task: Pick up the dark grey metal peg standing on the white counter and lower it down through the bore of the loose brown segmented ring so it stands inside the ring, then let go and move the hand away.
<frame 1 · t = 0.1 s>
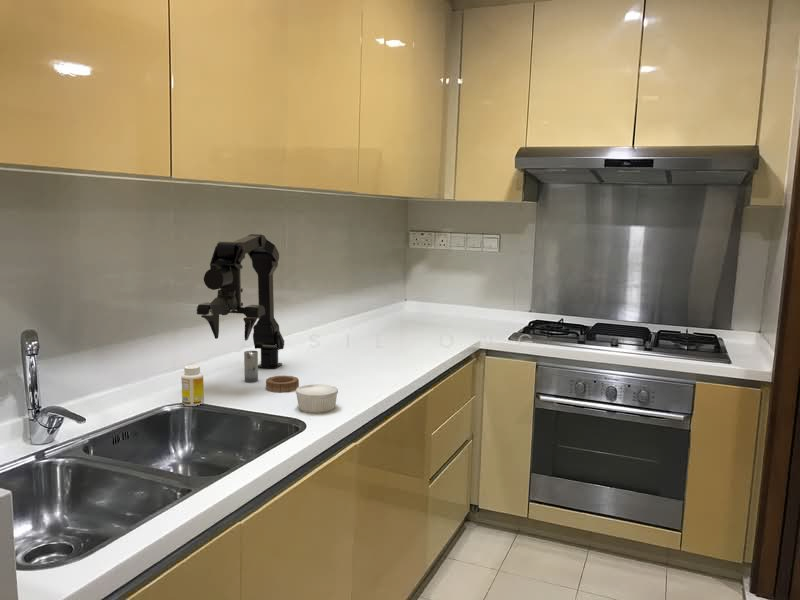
hand: (231, 339, 191), 14 cm above the worktop, fingers open, 9 cm apart
brown segmented ring: (282, 387, 194), on the worktop
ramekin: (316, 409, 175), on the worktop
supplement bottle: (193, 404, 177), on the worktop
grey metal peg: (251, 381, 201), on the worktop
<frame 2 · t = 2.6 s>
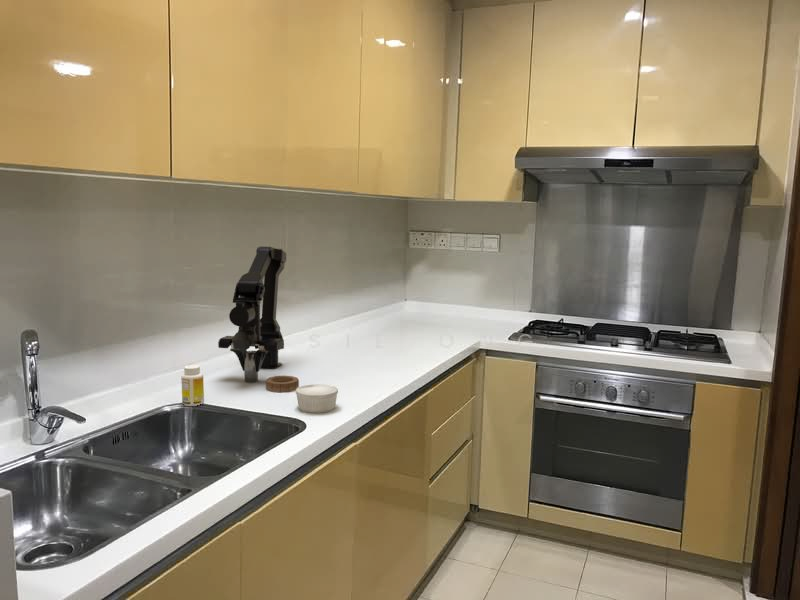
hand: (251, 371, 200), 3 cm above the worktop, fingers closed on grey metal peg, 4 cm apart
grey metal peg: (251, 381, 201), on the worktop, touching gripper
everything else where it was.
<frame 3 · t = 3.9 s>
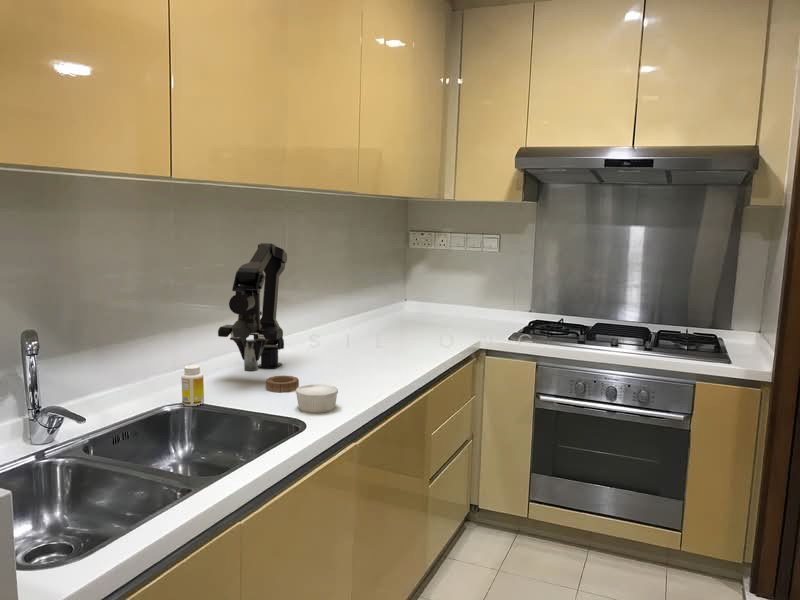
hand: (250, 360, 200), 6 cm above the worktop, fingers closed on grey metal peg, 4 cm apart
grey metal peg: (251, 369, 200), point 3 cm above the worktop, touching gripper
everything else where it was.
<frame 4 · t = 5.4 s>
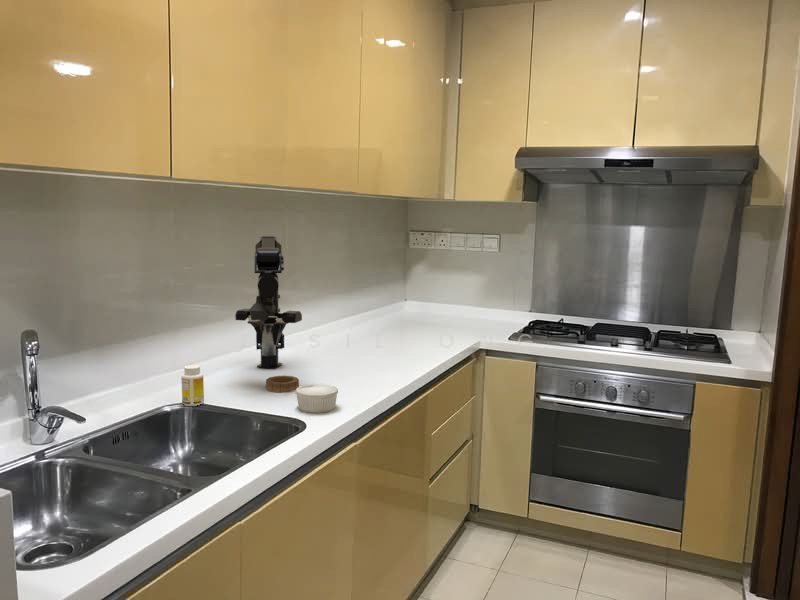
hand: (268, 344, 195), 12 cm above the worktop, fingers closed on grey metal peg, 4 cm apart
grey metal peg: (268, 354, 195), point 9 cm above the worktop, touching gripper
everything else where it was.
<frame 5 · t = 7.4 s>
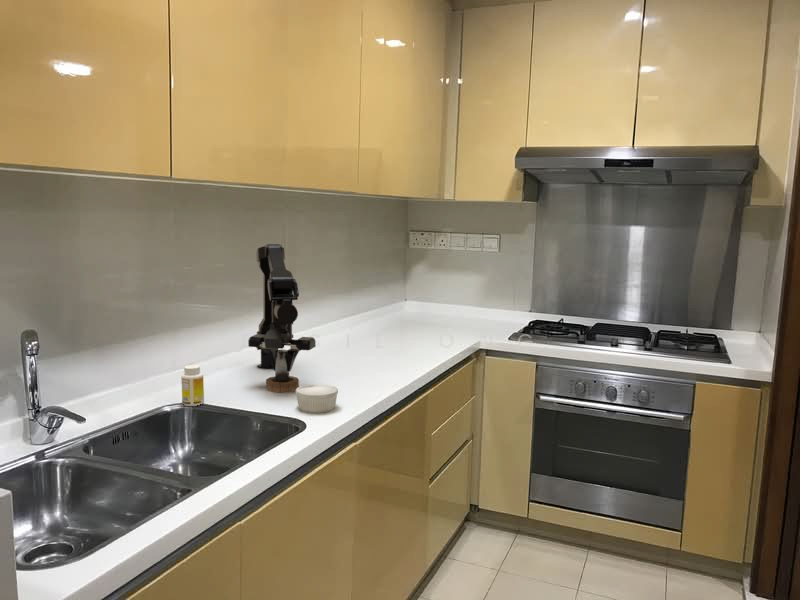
hand: (282, 371, 193), 5 cm above the worktop, fingers closed on grey metal peg, 4 cm apart
grey metal peg: (282, 381, 193), point 2 cm above the worktop, touching gripper
everything else where it was.
when the fingers open (4 cm above the worktop, at t = 8.6 s): grey metal peg drops 1 cm, resting in brown segmented ring.
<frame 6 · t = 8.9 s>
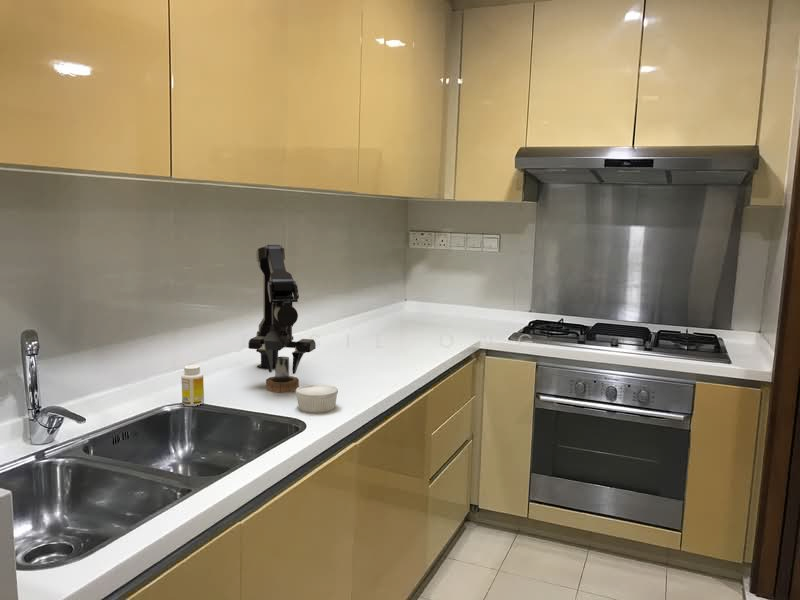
hand: (282, 373, 193), 4 cm above the worktop, fingers open, 7 cm apart
grey metal peg: (282, 388, 194), resting in brown segmented ring
everything else where it was.
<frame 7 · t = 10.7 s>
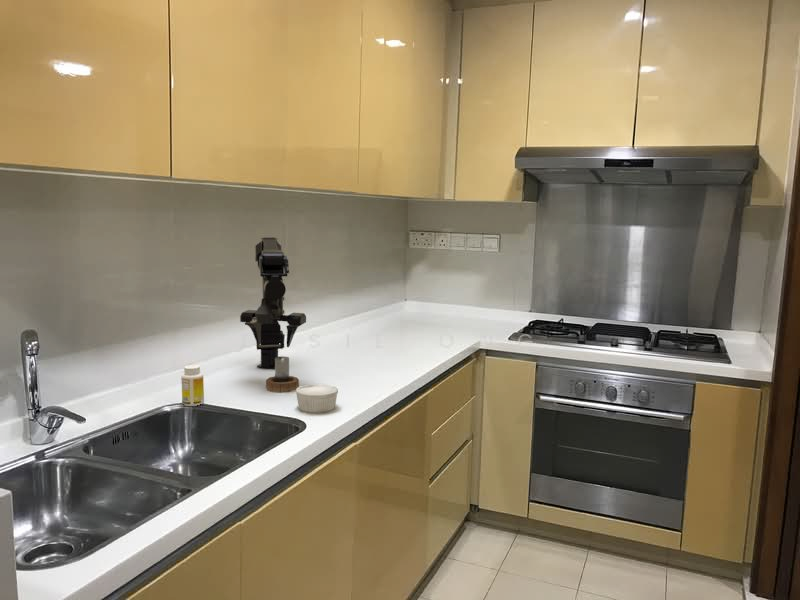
hand: (273, 346, 197), 11 cm above the worktop, fingers open, 9 cm apart
nothing on the worktop moved.
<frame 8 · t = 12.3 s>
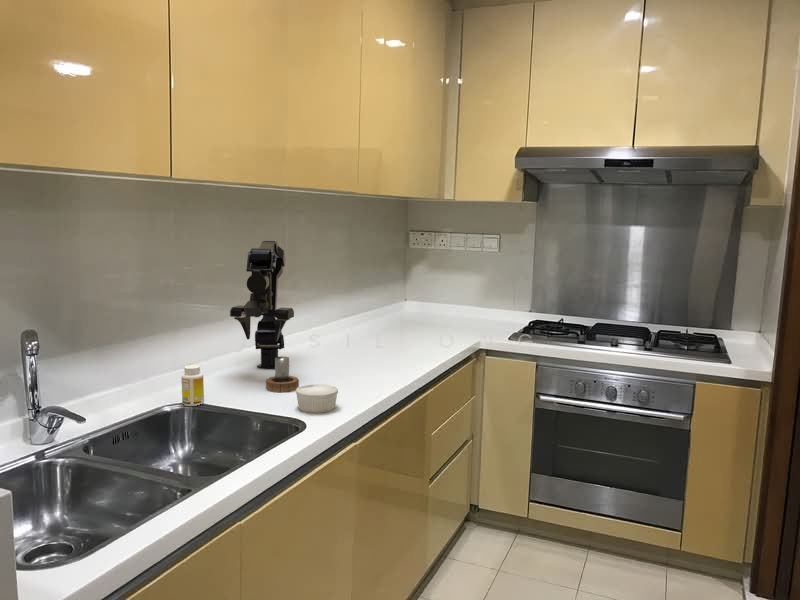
hand: (262, 340, 203), 12 cm above the worktop, fingers open, 9 cm apart
nothing on the worktop moved.
at the end: grey metal peg 0.1 cm from the brown segmented ring (horizontally); grey metal peg resting in brown segmented ring; grey metal peg tilted 0° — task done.
